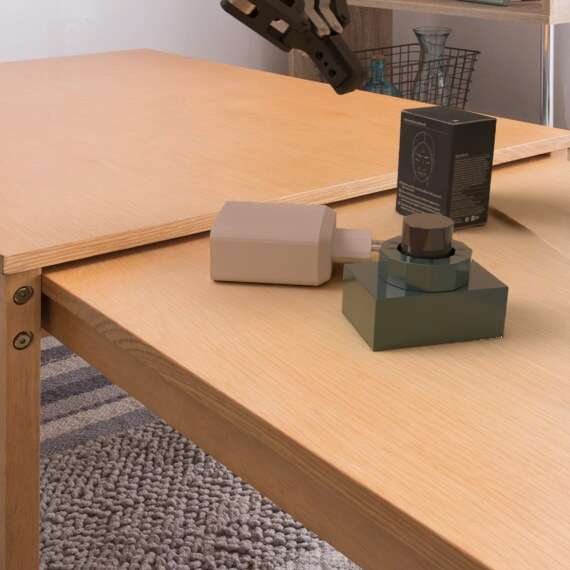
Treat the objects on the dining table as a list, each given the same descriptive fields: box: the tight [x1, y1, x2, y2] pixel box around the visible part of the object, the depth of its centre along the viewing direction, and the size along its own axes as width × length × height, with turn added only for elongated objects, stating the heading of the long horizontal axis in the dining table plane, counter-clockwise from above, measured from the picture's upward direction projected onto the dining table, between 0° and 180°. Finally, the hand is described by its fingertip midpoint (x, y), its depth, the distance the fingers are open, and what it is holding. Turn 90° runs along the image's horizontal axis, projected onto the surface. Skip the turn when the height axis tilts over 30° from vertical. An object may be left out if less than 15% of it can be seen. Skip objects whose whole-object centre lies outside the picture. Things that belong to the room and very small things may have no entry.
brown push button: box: [401, 213, 454, 260], centre depth 66 cm, size 4×4×2 cm
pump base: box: [341, 234, 510, 353], centre depth 68 cm, size 10×7×6 cm
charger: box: [209, 200, 386, 287], centre depth 78 cm, size 5×9×15 cm
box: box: [395, 104, 498, 231], centre depth 91 cm, size 8×6×11 cm
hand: (354, 86), depth 66 cm, fingers closed
